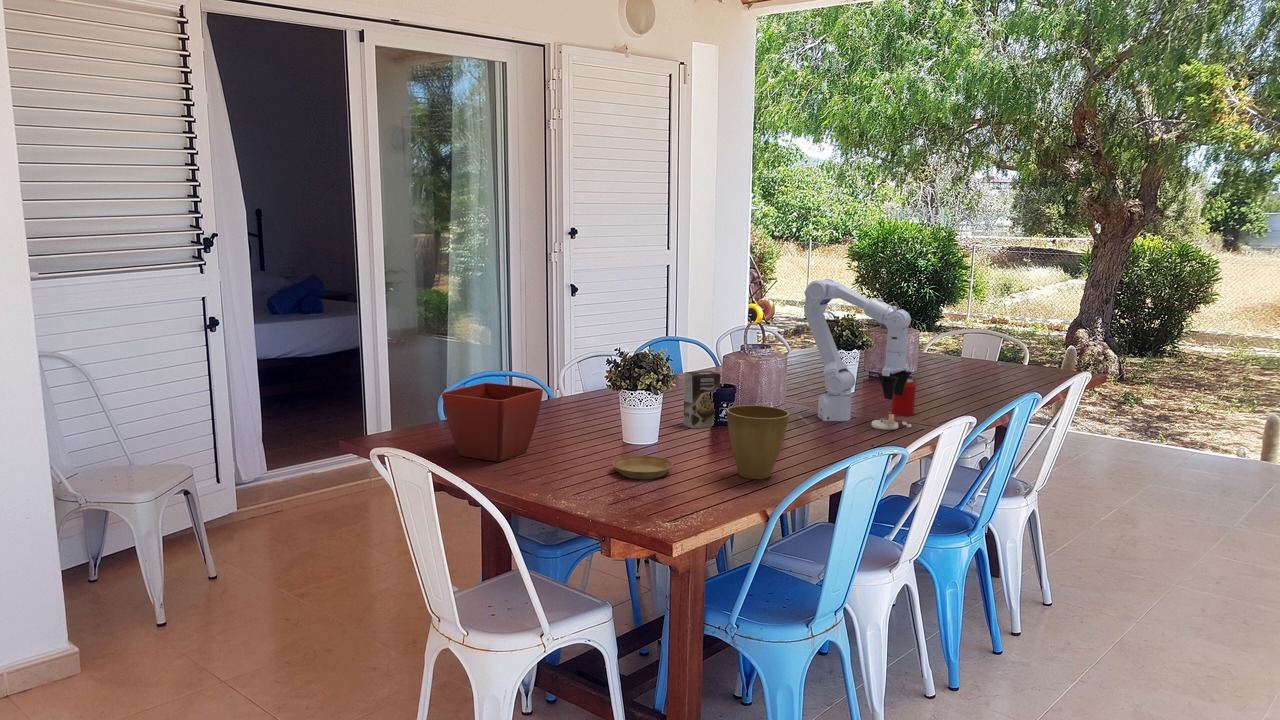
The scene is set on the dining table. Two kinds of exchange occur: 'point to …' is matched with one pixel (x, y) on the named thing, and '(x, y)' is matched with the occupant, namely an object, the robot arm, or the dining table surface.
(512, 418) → the plant pot
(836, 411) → the robot arm
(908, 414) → the beverage can
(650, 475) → the plant saucer
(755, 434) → the plant pot
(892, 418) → the white lever switch
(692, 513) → the dining table surface
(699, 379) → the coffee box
